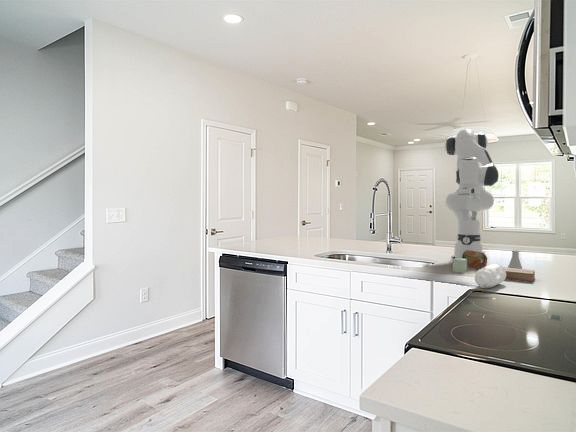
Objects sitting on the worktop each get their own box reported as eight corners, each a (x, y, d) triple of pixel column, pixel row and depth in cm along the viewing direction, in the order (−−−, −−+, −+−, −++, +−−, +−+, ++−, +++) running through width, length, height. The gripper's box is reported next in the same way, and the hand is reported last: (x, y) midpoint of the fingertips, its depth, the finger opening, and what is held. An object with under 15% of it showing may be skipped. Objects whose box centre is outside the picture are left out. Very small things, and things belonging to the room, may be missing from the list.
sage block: (455, 270, 185) (456, 257, 184) (466, 271, 182) (467, 258, 181) (453, 271, 181) (453, 259, 181) (464, 272, 178) (464, 260, 177)
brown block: (503, 276, 172) (503, 267, 172) (534, 279, 164) (534, 270, 164) (499, 279, 164) (499, 270, 164) (532, 283, 156) (532, 273, 156)
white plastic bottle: (468, 289, 145) (468, 269, 145) (485, 281, 158) (485, 262, 158) (491, 293, 140) (491, 271, 139) (506, 284, 153) (506, 265, 153)
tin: (461, 265, 199) (461, 249, 198) (466, 264, 200) (466, 248, 199) (482, 270, 184) (483, 253, 184) (488, 269, 185) (488, 252, 185)
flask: (526, 273, 176) (527, 251, 175) (509, 272, 177) (510, 251, 177) (520, 270, 183) (520, 249, 182) (504, 269, 184) (504, 249, 184)
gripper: (470, 193, 187) (471, 220, 187) (454, 190, 173) (455, 220, 172) (484, 192, 183) (484, 220, 183) (469, 189, 168) (469, 220, 168)
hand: (470, 220), depth 177 cm, fingers open, 8 cm apart
